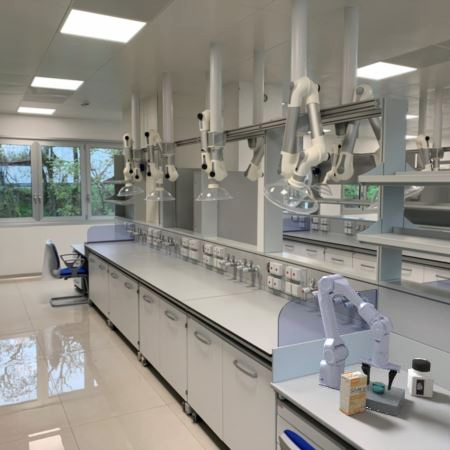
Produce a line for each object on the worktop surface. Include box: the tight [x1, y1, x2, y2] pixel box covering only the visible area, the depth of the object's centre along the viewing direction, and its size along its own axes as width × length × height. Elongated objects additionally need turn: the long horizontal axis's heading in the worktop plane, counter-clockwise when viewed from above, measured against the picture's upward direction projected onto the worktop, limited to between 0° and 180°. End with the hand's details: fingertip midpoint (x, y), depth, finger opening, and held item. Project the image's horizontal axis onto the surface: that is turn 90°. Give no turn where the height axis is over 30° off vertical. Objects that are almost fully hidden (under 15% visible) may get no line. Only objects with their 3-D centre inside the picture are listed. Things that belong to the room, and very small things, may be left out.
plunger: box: [372, 381, 386, 394], centre depth 163 cm, size 4×4×6 cm
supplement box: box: [339, 370, 367, 416], centre depth 155 cm, size 8×5×13 cm, turn 118°
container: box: [406, 357, 435, 399], centre depth 171 cm, size 8×8×13 cm
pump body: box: [365, 380, 406, 417], centre depth 164 cm, size 16×16×4 cm
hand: (378, 386), depth 163 cm, fingers open, 7 cm apart
